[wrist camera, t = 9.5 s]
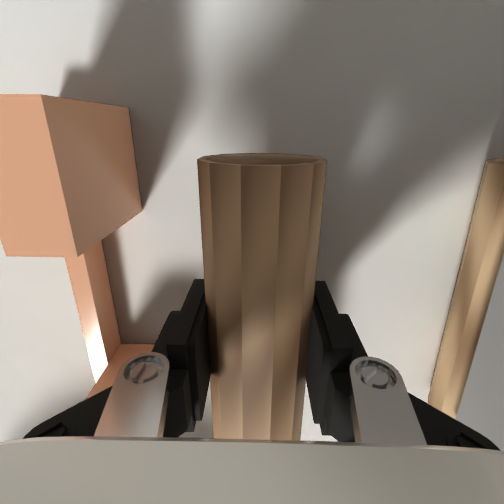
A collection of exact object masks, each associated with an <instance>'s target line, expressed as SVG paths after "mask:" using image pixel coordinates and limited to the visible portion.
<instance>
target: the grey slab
mask: <svg viewBox="0 0 504 504" xmlns="http://www.w3.org/2000/svg"><path fill="white" fill-rule="evenodd" d="M456 420H457V421H459V422H461V423H463V424H464V425H466V426H468V427H470V428H472V429H473V430H475V431H477V432H479V433H480V434H482V435H483V436H485V437H486V438H488V439H489V440H490V441H492V442H493V443H494V444H495V445H496V446H497V447H498V448H499V449H500V450H501V451H503V452H504V255H503V258H502V261H501V265H500V268H499V272H498V275H497V279H496V282H495V286H494V289H493V292H492V296H491V299H490V303H489V306H488V310H487V313H486V317H485V320H484V323H483V327H482V330H481V334H480V337H479V341H478V344H477V348H476V351H475V354H474V358H473V361H472V365H471V368H470V372H469V375H468V379H467V382H466V385H465V389H464V392H463V396H462V399H461V403H460V406H459V410H458V413H457V416H456Z"/></svg>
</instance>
